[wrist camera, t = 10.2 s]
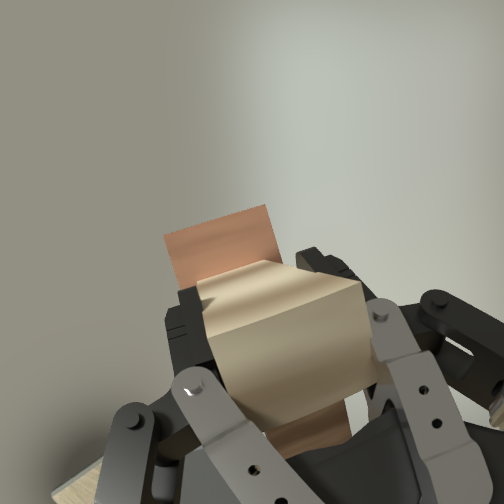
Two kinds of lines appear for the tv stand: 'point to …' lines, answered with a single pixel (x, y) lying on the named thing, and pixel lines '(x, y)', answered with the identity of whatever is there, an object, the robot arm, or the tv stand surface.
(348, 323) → the two-tone block
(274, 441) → the tall stand
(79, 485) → the tv stand surface
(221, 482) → the tall grey block
